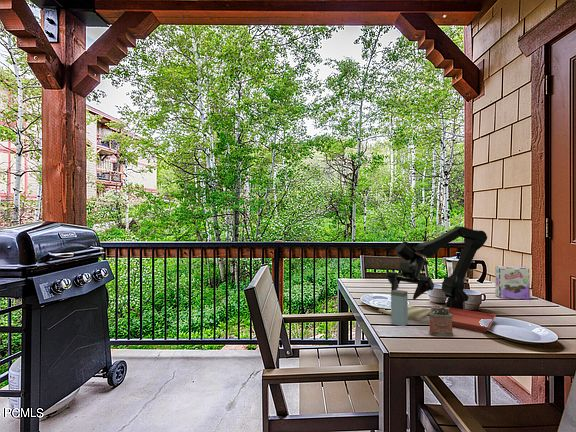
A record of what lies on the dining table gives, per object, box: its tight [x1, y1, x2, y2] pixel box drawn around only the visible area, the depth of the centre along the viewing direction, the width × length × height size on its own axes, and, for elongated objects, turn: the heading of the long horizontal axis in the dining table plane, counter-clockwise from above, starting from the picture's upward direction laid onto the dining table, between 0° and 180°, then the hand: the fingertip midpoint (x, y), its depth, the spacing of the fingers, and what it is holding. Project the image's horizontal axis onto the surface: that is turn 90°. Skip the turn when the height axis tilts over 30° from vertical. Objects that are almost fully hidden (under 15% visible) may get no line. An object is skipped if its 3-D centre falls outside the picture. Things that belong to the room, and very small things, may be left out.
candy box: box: [494, 265, 531, 301], centre depth 162 cm, size 14×6×16 cm, turn 73°
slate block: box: [390, 289, 409, 328], centre depth 123 cm, size 5×4×13 cm
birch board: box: [378, 304, 434, 321], centre depth 138 cm, size 18×16×1 cm
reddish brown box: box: [428, 305, 454, 337], centre depth 111 cm, size 8×3×10 cm, turn 84°
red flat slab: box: [445, 306, 497, 333], centre depth 123 cm, size 18×18×3 cm
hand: (402, 297), depth 125 cm, fingers open, 9 cm apart
